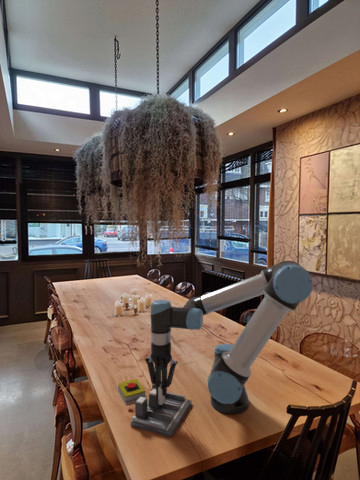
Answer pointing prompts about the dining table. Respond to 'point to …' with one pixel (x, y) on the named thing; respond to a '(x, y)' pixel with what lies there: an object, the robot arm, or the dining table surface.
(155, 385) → the breaker far
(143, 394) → the emergency button
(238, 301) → the robot arm
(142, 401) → the block
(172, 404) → the panel
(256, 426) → the dining table surface
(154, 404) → the block
